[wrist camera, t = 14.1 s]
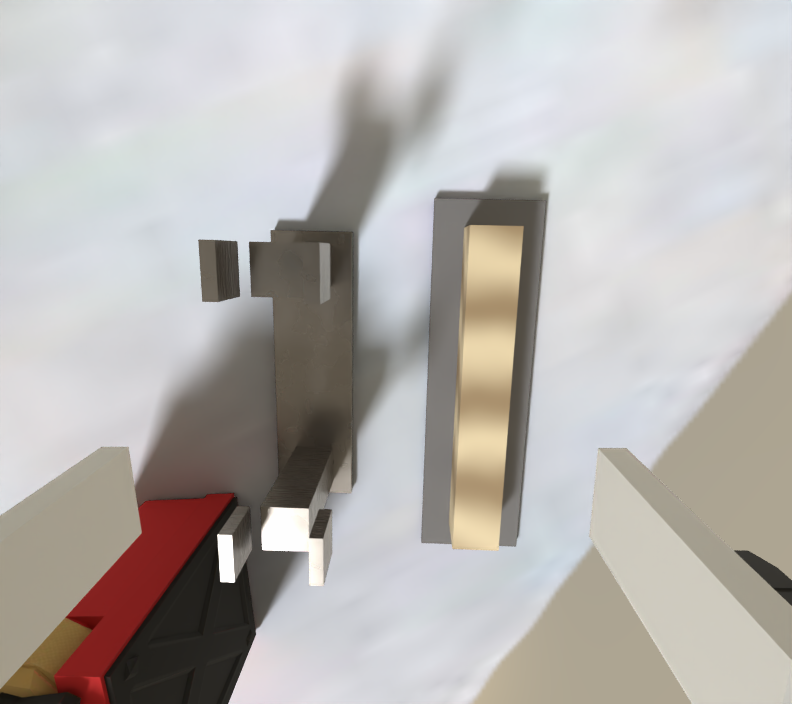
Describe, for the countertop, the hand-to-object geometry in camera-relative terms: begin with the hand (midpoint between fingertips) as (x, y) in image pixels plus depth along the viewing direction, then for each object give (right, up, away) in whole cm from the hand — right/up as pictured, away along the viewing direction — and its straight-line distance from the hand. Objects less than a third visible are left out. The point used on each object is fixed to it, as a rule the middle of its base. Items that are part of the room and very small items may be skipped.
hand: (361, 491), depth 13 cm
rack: (-5, +3, +24) cm, 25 cm away
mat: (+8, +1, +24) cm, 25 cm away
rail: (+7, +1, +23) cm, 25 cm away
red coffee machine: (-17, -15, +29) cm, 37 cm away
